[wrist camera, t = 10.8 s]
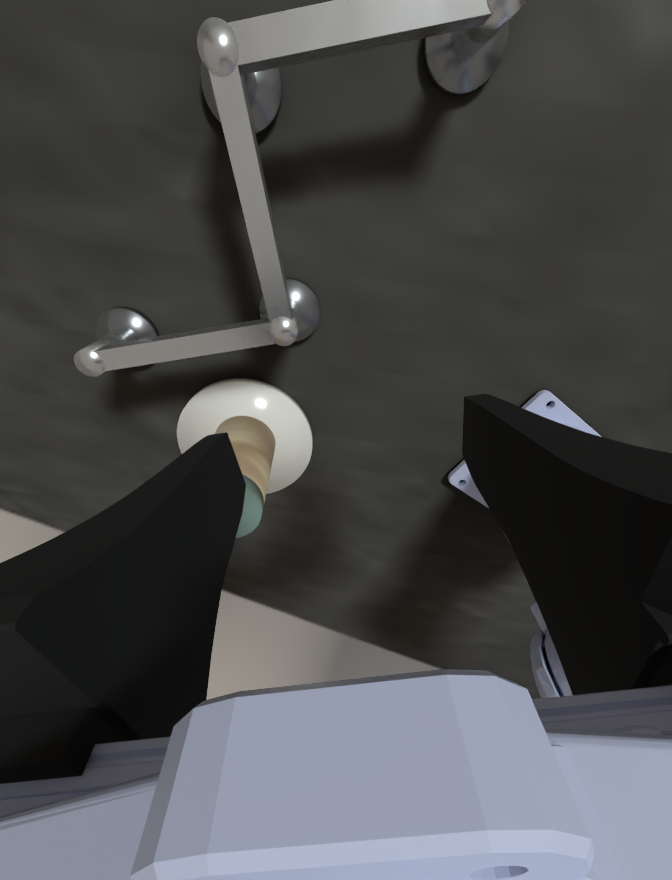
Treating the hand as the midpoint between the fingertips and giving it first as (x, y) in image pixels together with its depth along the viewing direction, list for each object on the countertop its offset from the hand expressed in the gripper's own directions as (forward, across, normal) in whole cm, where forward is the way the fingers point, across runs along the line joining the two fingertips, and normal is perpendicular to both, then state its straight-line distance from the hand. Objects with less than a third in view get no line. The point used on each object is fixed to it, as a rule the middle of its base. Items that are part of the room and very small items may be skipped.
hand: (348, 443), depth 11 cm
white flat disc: (+10, +6, +5) cm, 13 cm away
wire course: (+10, +1, -6) cm, 12 cm away
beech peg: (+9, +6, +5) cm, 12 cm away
